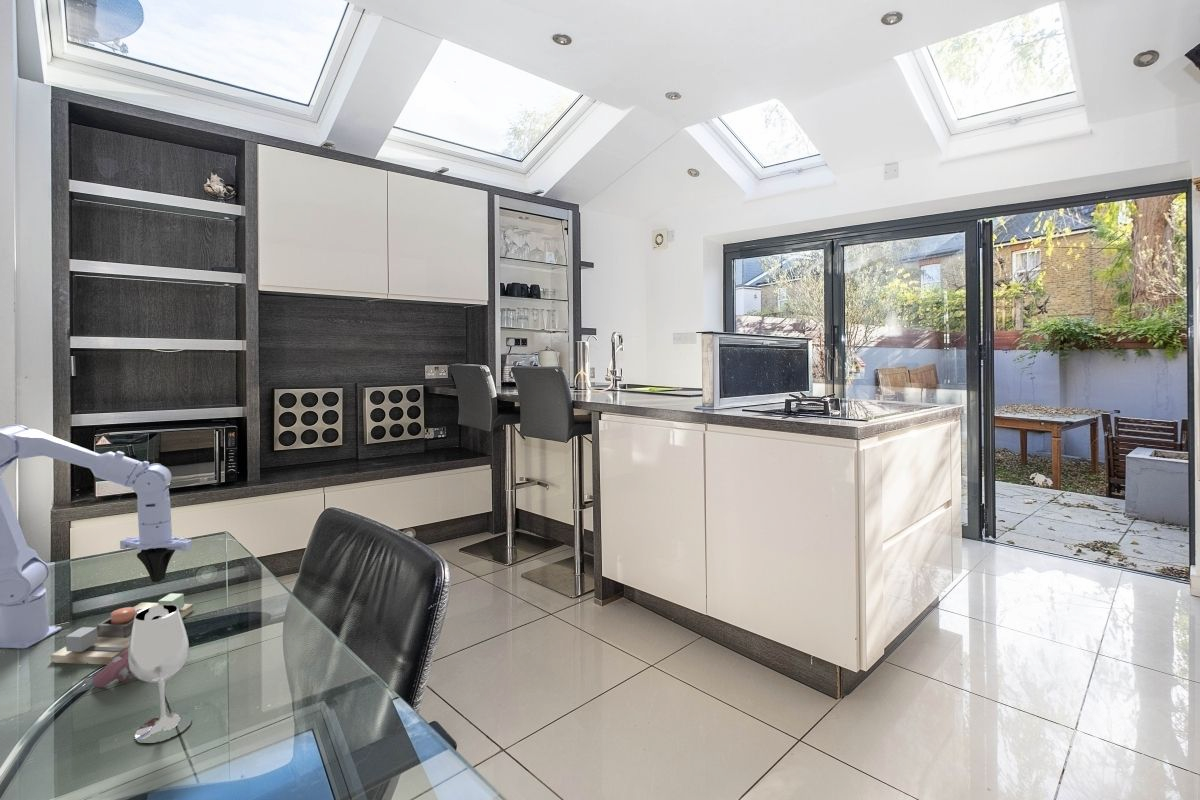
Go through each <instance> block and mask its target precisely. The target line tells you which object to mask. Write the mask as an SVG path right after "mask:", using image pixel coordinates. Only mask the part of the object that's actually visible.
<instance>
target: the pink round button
mask: <svg viewBox="0 0 1200 800" xmlns="http://www.w3.org/2000/svg"><path fill="white" fill-rule="evenodd" d="M133 607H134V606H133ZM133 607H132V606H127V607H122V608H118V609H115V610H112V612H111V613H110V617H111V624H122V625H124V624H127V623H129V622H131V621H132V620H134V618H135V615H136V612H135V608H133Z"/></svg>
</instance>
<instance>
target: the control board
mask: <svg viewBox="0 0 1200 800" xmlns="http://www.w3.org/2000/svg"><path fill="white" fill-rule="evenodd" d="M153 606H158V602H140V603H138V604H137V605H135V606H133V608H135V612H136V614H137V613H139V612H140V611H142V610H144V609H147V608H150V607H153ZM194 609H195V608H194V603H184V607H183V608H181V609H180V610H179V612H180V615H181V617H182V619H183V618H184V617H186V616H188V615H189V614H190V613H192V612H193V611H194ZM133 623H134V620H132V621H131V622H129V623H127V624H124V625H122V624H111V616H110V617H109V618H106V619H105V620H103V621H102V622H100V623H98V624H97V625H96V628H97V634H98V642H97V643H95V644H94V645H92V646H90V647H89V648H87V649H85V650H84V651H82V652H76V651H67V650H66V645H65V646H64V647H62V648H61V649H59V650H56V651H55V652H54V653H51V654H50V662H51V663H52V662H55V664H57V663H58V664H81V665H82V664H83V665H84V664H85V665H86V664H87V663H88V664H87V665H90V664H91V665H107V664H106V663H110V662H111V661H112V660H113V659H114V658H115V657H118V656H119V655H121V654H122V653H123V652H124V651H125V650H126V649H128V648H129V643H130V637H131V632H132V627H133Z"/></svg>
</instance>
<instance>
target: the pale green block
mask: <svg viewBox="0 0 1200 800" xmlns="http://www.w3.org/2000/svg"><path fill="white" fill-rule="evenodd" d="M157 603H158V605H166V604H171V605H175V606H177V607H178V609H179V610H180V609H181V608H183V607H184V604H185V594H184V593H168V594H167V595H165V596H164V597H162V598H160V599H159V600H158V601H157Z"/></svg>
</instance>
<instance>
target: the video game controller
mask: <svg viewBox="0 0 1200 800" xmlns="http://www.w3.org/2000/svg"><path fill="white" fill-rule="evenodd" d="M128 650H129V648H128V649H126V650H125V651H124V652H123V653H122V654H121V655H119V656H118V657H115V658H114V659H113V660H112V661H111V662H110V663H109V664H106V665H105V667H104V668H103V669H102V670H100V671H99V672H97V673H96V675H94V676H93V679H92V684H93V686H94V687H96V688H103V687H105V686H106V687H107V685H109V684H110V683H112V682H113V681H115V680H117V681H119V682H121V683H122V682H123V681H125V680H127V679H128V678H130V676H131V675H132V673H131V671H130V669H129V665H128Z"/></svg>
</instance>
